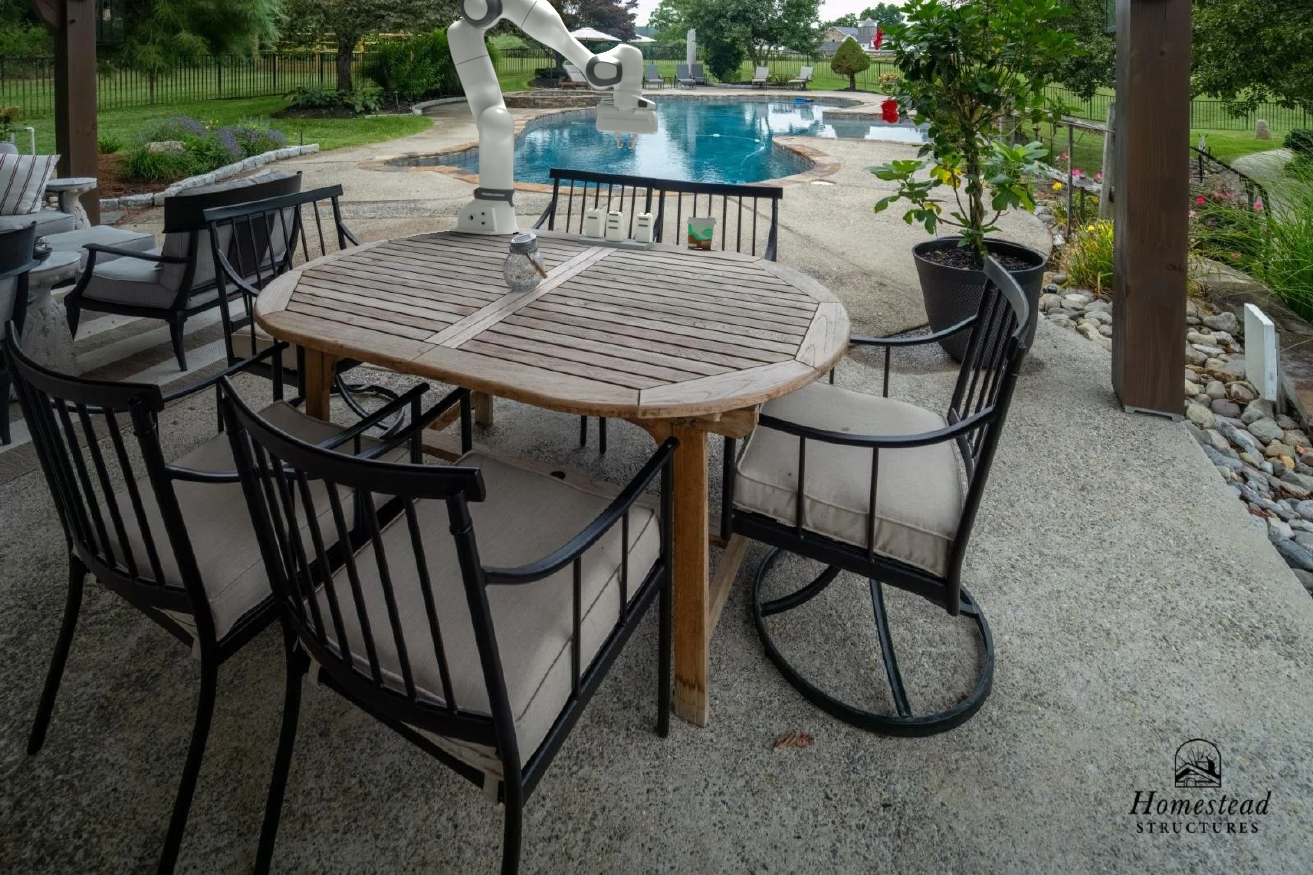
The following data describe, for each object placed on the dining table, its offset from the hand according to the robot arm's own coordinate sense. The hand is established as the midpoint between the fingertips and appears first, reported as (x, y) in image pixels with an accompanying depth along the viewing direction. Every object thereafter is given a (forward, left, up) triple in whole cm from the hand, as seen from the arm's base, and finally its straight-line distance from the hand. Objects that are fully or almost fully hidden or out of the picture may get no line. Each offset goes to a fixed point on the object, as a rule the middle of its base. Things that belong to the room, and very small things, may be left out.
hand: (625, 148), depth 244 cm
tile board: (0, -14, -29) cm, 32 cm away
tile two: (+9, -13, -27) cm, 32 cm away
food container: (+28, -7, -29) cm, 41 cm away
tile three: (0, -16, -27) cm, 32 cm away
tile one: (-8, -10, -27) cm, 30 cm away
